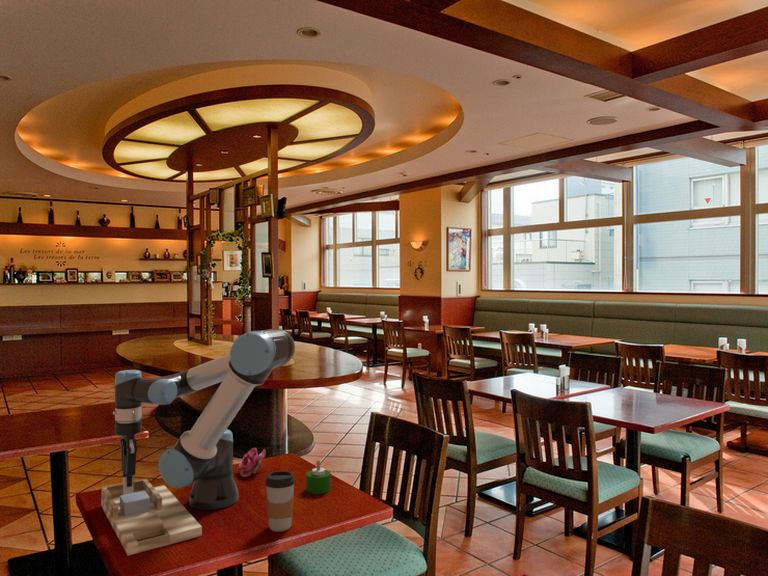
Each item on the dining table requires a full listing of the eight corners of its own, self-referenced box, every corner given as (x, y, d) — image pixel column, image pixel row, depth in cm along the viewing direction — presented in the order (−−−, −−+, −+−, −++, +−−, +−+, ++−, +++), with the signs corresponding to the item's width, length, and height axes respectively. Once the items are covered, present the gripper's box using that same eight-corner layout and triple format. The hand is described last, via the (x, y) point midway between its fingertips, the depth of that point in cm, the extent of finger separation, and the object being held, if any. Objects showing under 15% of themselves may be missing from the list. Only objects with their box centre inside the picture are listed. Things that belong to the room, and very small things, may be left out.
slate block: (119, 508, 164) (119, 495, 164) (144, 503, 168) (144, 490, 168) (124, 516, 159) (124, 503, 159) (150, 511, 163) (150, 497, 163)
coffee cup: (267, 521, 162) (267, 470, 161) (295, 520, 162) (295, 469, 162) (263, 534, 153) (263, 480, 153) (293, 533, 154) (293, 479, 154)
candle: (335, 488, 188) (335, 459, 188) (320, 496, 181) (320, 465, 181) (316, 483, 193) (316, 455, 192) (301, 490, 186) (301, 461, 185)
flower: (242, 487, 197) (228, 463, 199) (253, 480, 207) (239, 457, 209) (267, 470, 196) (253, 446, 198) (277, 463, 206) (263, 440, 208)
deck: (101, 506, 172) (101, 487, 172) (164, 492, 184) (164, 474, 184) (127, 555, 141) (127, 532, 141) (201, 535, 152) (201, 514, 152)
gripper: (111, 417, 174) (111, 492, 174) (119, 426, 163) (119, 505, 163) (136, 414, 178) (136, 487, 178) (146, 422, 167) (146, 499, 168)
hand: (128, 495), depth 171 cm, fingers closed
